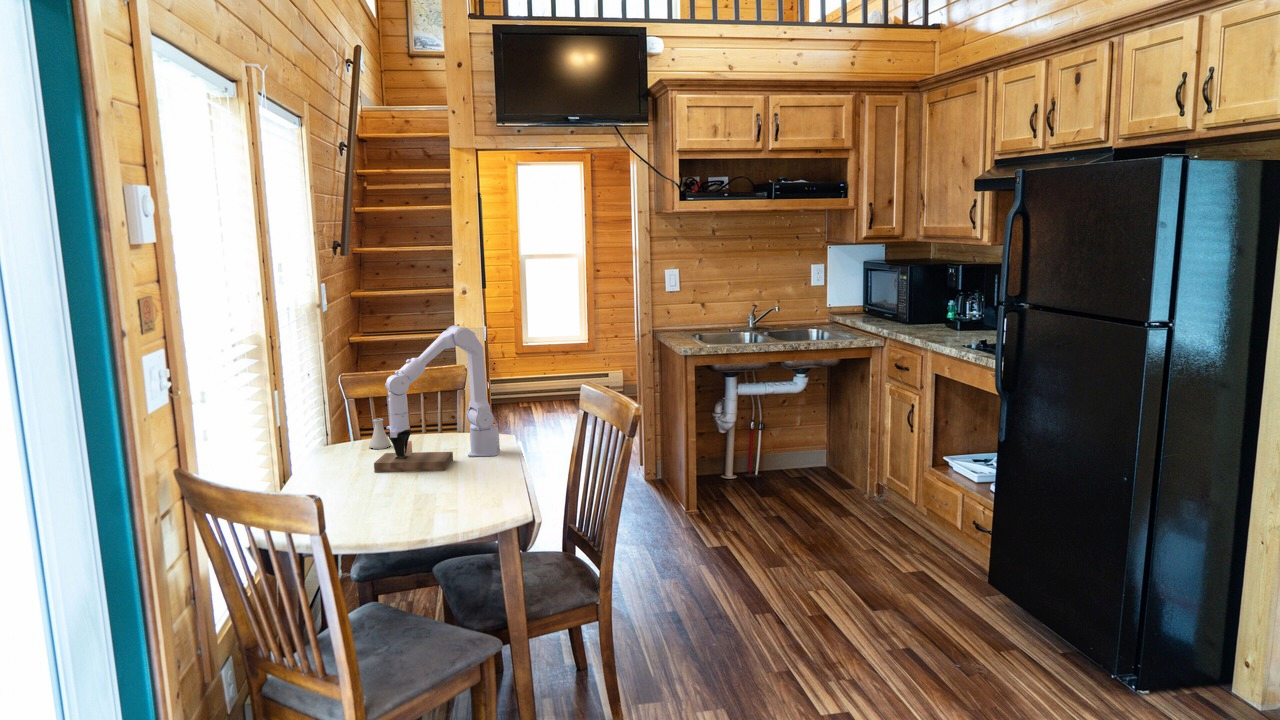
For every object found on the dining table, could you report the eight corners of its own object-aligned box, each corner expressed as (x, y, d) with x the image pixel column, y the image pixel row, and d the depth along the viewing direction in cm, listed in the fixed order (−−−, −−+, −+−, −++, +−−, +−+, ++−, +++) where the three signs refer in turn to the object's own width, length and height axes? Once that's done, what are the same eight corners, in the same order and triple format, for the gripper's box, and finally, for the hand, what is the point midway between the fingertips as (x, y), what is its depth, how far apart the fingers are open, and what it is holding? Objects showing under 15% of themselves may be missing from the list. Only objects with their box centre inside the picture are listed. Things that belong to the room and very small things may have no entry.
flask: (365, 449, 291) (363, 421, 289) (377, 444, 297) (375, 416, 296) (383, 450, 289) (381, 422, 287) (395, 445, 295) (393, 417, 294)
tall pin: (406, 459, 268) (404, 434, 267) (404, 461, 266) (403, 436, 265) (398, 459, 268) (397, 435, 267) (396, 461, 266) (395, 436, 265)
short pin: (413, 453, 283) (412, 440, 283) (411, 455, 281) (410, 442, 280) (406, 453, 283) (405, 440, 283) (404, 455, 281) (403, 442, 280)
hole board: (453, 460, 273) (452, 451, 273) (444, 470, 261) (444, 461, 261) (385, 462, 273) (385, 453, 273) (374, 472, 261) (373, 463, 261)
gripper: (392, 408, 272) (395, 448, 274) (379, 418, 257) (382, 460, 259) (414, 407, 272) (416, 448, 274) (401, 417, 257) (404, 460, 259)
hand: (401, 454), depth 267 cm, fingers closed on tall pin, 2 cm apart
